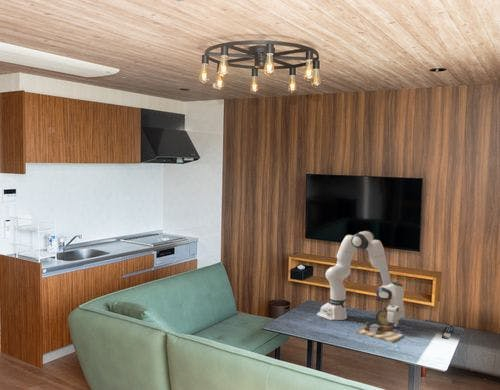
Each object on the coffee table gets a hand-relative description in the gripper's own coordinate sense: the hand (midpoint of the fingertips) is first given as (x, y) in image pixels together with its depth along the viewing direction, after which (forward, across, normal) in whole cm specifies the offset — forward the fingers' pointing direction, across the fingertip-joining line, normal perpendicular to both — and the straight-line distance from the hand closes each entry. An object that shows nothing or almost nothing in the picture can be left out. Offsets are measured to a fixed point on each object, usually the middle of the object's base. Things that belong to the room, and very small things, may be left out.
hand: (396, 326), depth 328 cm
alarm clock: (+3, -1, -9) cm, 10 cm away
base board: (+3, +17, -4) cm, 17 cm away
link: (+1, +12, -7) cm, 14 cm away
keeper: (+1, +17, -7) cm, 19 cm away
